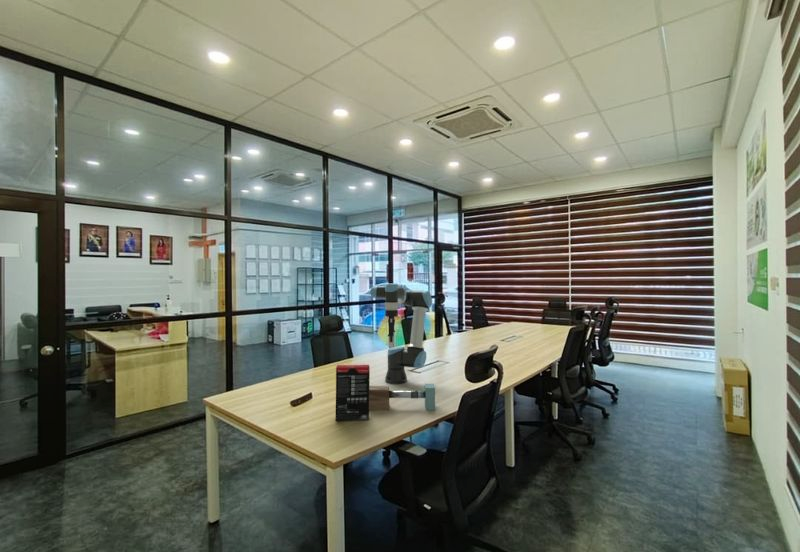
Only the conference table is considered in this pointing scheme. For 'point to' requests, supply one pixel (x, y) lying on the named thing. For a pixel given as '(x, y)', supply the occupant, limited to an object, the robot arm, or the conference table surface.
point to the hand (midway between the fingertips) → (391, 345)
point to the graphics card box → (352, 392)
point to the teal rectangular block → (430, 397)
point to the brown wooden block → (378, 397)
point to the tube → (407, 394)
